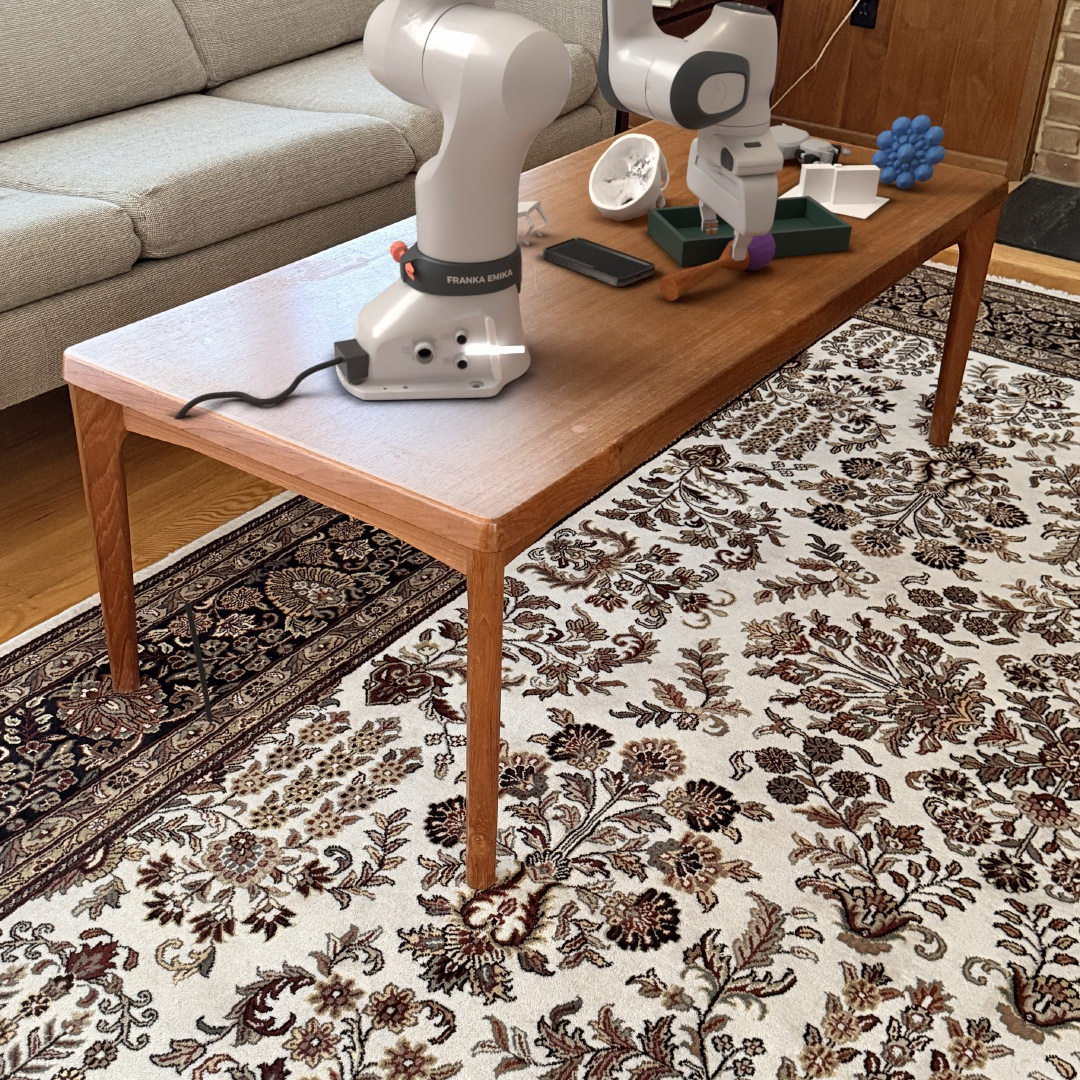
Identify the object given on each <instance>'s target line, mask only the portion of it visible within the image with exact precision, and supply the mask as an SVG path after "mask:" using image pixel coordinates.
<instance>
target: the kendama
mask: <svg viewBox="0 0 1080 1080" xmlns="http://www.w3.org/2000/svg"><path fill="white" fill-rule="evenodd" d="M735 237H736V236H735ZM735 237H734V238H733V240H732V241H731V242H729V243H728V245H727V246H726V248H725V250H724V251H723V253H722V255H721V257H720V258H719V260H717V261H713V262H710V263H707V264H700V265H696V266H694V267H690V268H687V269H683V270H680V271H677V272H674V273H671V274H667V275H664V276H663V277H661V278H660V280H659V283H658V285H659V286H658V287H659V292H660V293H661V295H662V297H663V298H665V300H667V301H669V302H675V300H677V299H678V298H681V296H683V295H685V294H686V293H687V292H689V291H690V290H692V289H694V287H696V286H698V285H699V284H700V283H702V282H704V281H705V280H706V279H708V278H709V277H710V276H712V275H713V274H715V273H716V272H718V271H719V270H721V269H727V270H733V271H759V270H761V269H763V268H765V267H767V266H768V265H769V264H770V263H771V261H772V260H773V256H774V254H775V247H776V245H775V241H774V238H773V236H772V235H771V233H770V232H768V234H766V235H762V236H754V237H753V238H752V240H751V242H750V244H749V245H748V247H747V254H746V258H745V259H744V260H739V261H735V260H734V259H733V258H732V257H731V256H730V255H729V252H730V244H733V243H734V240H735Z"/></svg>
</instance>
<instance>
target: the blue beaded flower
mask: <svg viewBox="0 0 1080 1080" xmlns="http://www.w3.org/2000/svg"><path fill="white" fill-rule="evenodd" d="M931 123H932V120H931V119H930V116H929V115H926V114H920V115H917V116H916V117H914V118H913V119H912V120H911V118H909V117H907V116H904V115H902V116H900V117H898V118H896V119H895V120H894V121H893V122H892V126H891V130H889V129H887V130H883V131H882V132H881V133H879V134H878V135H877V139H876V142H875V144H876V146H877V148H878V150H877V151H876V152H874V154H873V155H872V157H871V165H876V166H877V167H878V168H879V169H880V175H879V180H880V182H881V183H882V184H885V185H890V184H893V183H894V182H895V184H896V187H897V188H898V189H900V190H908V189H910V188H912V187H913V185H915V182H916V181H917V182H920V183H924V182H928V181H929V180H930V179H931V178H932V177H933V175H934V171H935V168H934V166H936V165H939V164H940V163H941V162H943V160H944V159H945V157H946V152H947V151H946V149H945V148H944V146H942V145H939V144H941V142H942V141H943V140H944V137H945V130H944V129H943V127H941V126H937V125H934V126H931Z"/></svg>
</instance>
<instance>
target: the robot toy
mask: <svg viewBox="0 0 1080 1080" xmlns="http://www.w3.org/2000/svg"><path fill="white" fill-rule="evenodd" d="M769 130H771V132H772V135H773V138H774V141H775V143H776V145H777V146H778V148H779V150H780V151H781V153H782V155H783V161H787V160H788V161H789V160H793V159H797V160H798V163H800V164H831V165H832V166H834V164H838V162H839V160H840V156H841V155H842V156H844V157H849V156H851V150H850V149H849V148H842V147H843V146H842V145H841V144H835V143H831V142H830V141H826V140H823V139H818V138H814V137H813V138H812V137H811V135H810V134H809V132H808V131H806V130H803V129H800V128H796V127H794V126H791V125H787V124H785V123H781V125H774V126H770V128H769Z"/></svg>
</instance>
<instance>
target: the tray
mask: <svg viewBox="0 0 1080 1080" xmlns="http://www.w3.org/2000/svg"><path fill="white" fill-rule="evenodd" d="M647 220H648V221H647V230H646V231H647V234H648V235H649V236H650V237H651V238H652V239H653V240H654V241H655V242H656V243H657V244H658V245H659V246H660V247H661V248H662V249H663V250H664V251H665V252H666V253H667V254H668V255H669V256H670V257H671V259H673V260H674V261H675V262H676V263H678V265H679V266H680V267H689V266H700V265H704V264H707V263H710V262H713V261H717V260H719V258H720V257H721V255H722V253H723V251H724V250H725V248H726V246H727V245H728V243H729V242H731V241H732V240H733V238H734V237H735V235H734V228H733V227H732V226H731V225H730V224H728V223H727V222H726V221H725V220H724V219H723V218H721V217H720V216H719V215H718V214H717V213H716V220H717V221H718V227H717V229H718V231H717V233H716V234H714V235H706V234H705V233H704V232H703V231H702V230H701V226H702V218H701V212H700V207H699V204H691V205H680V206H670V207H669V206H668V207H663V208H657V207H656V208H655V209H649V213H648V217H647ZM852 229H853V226H852V225H851V224H850V223H848V222H847V221H845V220H844V219H842V218H841V217H840V216H838V215H837V214H836V213H834V212H831V211H830V210H828V209H827V208H825V207H824V206H823V205H821V204H820V203H818V202H817V201H815V200H814V199H813V198H811V197H810V196H801V197H789V198H779V197H777V201H776V209H775V215H774V221H773V225H772V228H771V229H770V231H769V232H770V233H771V235H772V236H773V238H774V241H775V245H776V247H775V254H774V256H773V258H784V257H795V256H805V255H816V254H817V255H818V254H827V253H828V254H829V253H838V252H848V251H849V248H850V241H851V235H852V231H853V230H852ZM773 258H772V259H773Z"/></svg>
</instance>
